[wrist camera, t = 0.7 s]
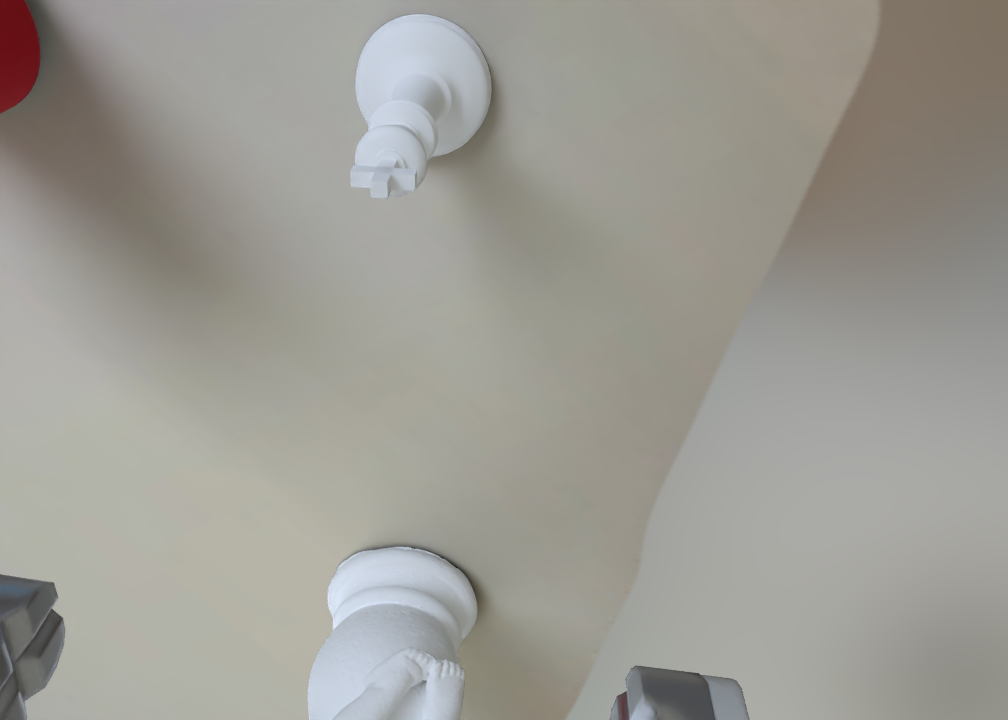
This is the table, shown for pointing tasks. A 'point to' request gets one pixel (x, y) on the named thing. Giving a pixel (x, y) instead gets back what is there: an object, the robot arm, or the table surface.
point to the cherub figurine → (393, 639)
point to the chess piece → (416, 100)
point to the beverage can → (17, 52)
